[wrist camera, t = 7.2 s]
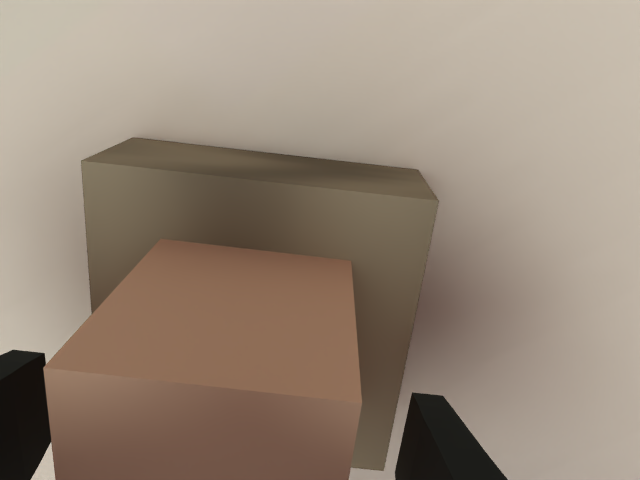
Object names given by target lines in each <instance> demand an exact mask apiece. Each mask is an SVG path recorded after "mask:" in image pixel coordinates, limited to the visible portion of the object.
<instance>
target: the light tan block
mask: <svg viewBox="0 0 640 480" xmlns="http://www.w3.org/2000/svg"><path fill="white" fill-rule="evenodd" d="M43 370H44V379H45V388H46V397H47V406H48V415H49V424H50V433H51V443H52V452H53V461H54V470H55V479H56V480H348V479H349V474H350V468H351V463H352V457H353V451H354V446H355V440H356V435H357V429H358V423H359V418H360V412H361V407H362V395H361V382H360V369H359V356H358V343H357V330H356V317H355V304H354V290H353V277H352V264H351V261H349V260H341V259H332V258H323V257H315V256H306V255H297V254H289V253H280V252H271V251H262V250H254V249H245V248H236V247H228V246H219V245H210V244H202V243H193V242H184V241H176V240H167V239H160V240H159V241H158V242H157V243H156V244H155V245H154V247H153V248H152V249H151V250H150V251H149V252H148V253H147V254H146V255H145V256H144V258H143V259H142V260H141V261H140V262H139V263H138V264H137V265H136V266H135V267H134V269H133V270H132V271H131V272H130V273H129V274H128V275H127V276H126V277H125V278H124V280H123V281H122V282H121V283H120V284H119V285H118V286H117V287H116V288H115V289H114V291H113V292H112V293H111V294H110V295H109V296H108V297H107V298H106V299H105V300H104V301H103V303H102V304H101V305H100V306H99V307H98V308H97V309H96V310H95V311H94V312H93V314H92V315H91V316H90V317H89V318H88V319H87V320H86V321H85V322H84V323H83V325H82V326H81V327H80V328H79V329H78V330H77V331H76V332H75V333H74V334H73V336H72V337H71V338H70V339H69V340H68V341H67V342H66V343H65V344H64V345H63V347H62V348H61V349H60V350H59V351H58V352H57V353H56V354H55V355H54V356H53V358H52V359H51V360H50V361H49V362H48V363H47V364H46V365H45V366H44V367H43Z"/></svg>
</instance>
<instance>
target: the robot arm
mask: <svg viewBox="0 0 640 480" xmlns="http://www.w3.org/2000/svg"><path fill="white" fill-rule="evenodd" d="M45 365H46V362H45V353H38V352H29V351H19V350H12V351H9V352H7V353H5V354H2V355H0V480H31V478H32V476H33V475H34V473H35V471H36V469H37V467H38V466H39V464H40V462H41V460H42V458H43V456H44V454H45V452H46V450H47V448H48V446H49V444H50V442H51V433H50V424H49V415H48V406H47V397H46V388H45V379H44V370H43V367H44V366H45ZM395 478H396V480H508V479H507V478H506V477H505V476H504V474H503V473H502V472H501V471H500V470H499V468H498V467H497V466H496V465H495V463H494V462H493V461H492V460H491V458H490V457H489V456H488V454H487V453H486V452H485V451H484V449H483V448H482V447H481V445H480V444H479V443H478V441H477V440H476V439H475V437H474V436H473V435H472V434H471V432H470V431H469V430H468V428H467V427H466V426H465V424H464V423H463V422H462V420H461V419H460V417H459V416H458V415H457V413H456V412H455V411H454V410H453V408H452V407H451V406H450V404H449V403H448V402H447V400H446V399H445V398H444V396H440V395H430V394H421V393H412V396H411V400H410V405H409V410H408V414H407V419H406V424H405V428H404V433H403V437H402V442H401V447H400V451H399V456H398V461H397V465H396V470H395Z"/></svg>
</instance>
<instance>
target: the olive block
mask: <svg viewBox="0 0 640 480" xmlns="http://www.w3.org/2000/svg"><path fill="white" fill-rule="evenodd" d="M81 167H82V181H83V195H84V210H85V224H86V238H87V253H88V267H89V281H90V295H91V310H92V314H93V312H94V311H95V310H96V309H97V308H98V307H99V306H100V305H101V304H102V303H103V301H104V300H105V299H106V298H107V297H108V296H109V295H110V294H111V293H112V292H113V291H114V289H115V288H116V287H117V286H118V285H119V284H120V283H121V282H122V281H123V280H124V278H125V277H126V276H127V275H128V274H129V273H130V272H131V271H132V270H133V269H134V267H135V266H136V265H137V264H138V263H139V262H140V261H141V260H142V259H143V258H144V256H145V255H146V254H147V253H148V252H149V251H150V250H151V249H152V248H153V247H154V245H155V244H156V243H157V242H158V241H159V240H160V239H167V240H176V241H184V242H193V243H202V244H210V245H219V246H228V247H236V248H245V249H254V250H262V251H271V252H280V253H289V254H297V255H306V256H315V257H323V258H332V259H341V260H349V261H351V264H352V277H353V290H354V304H355V317H356V330H357V343H358V356H359V369H360V382H361V395H362V407H361V412H360V418H359V423H358V429H357V435H356V440H355V446H354V451H353V457H352V463H351V468H361V469H370V470H380V471H384V467H385V462H386V457H387V452H388V447H389V442H390V437H391V432H392V427H393V423H394V418H395V413H396V408H397V403H398V398H399V393H400V388H401V383H402V379H403V374H404V369H405V364H406V359H407V354H408V349H409V344H410V339H411V335H412V330H413V325H414V320H415V315H416V310H417V305H418V300H419V295H420V290H421V286H422V281H423V276H424V271H425V266H426V261H427V256H428V251H429V246H430V242H431V237H432V232H433V227H434V222H435V217H436V212H437V207H438V202H439V200H438V199H437V198H436V196H435V195H434V193H433V192H432V190H431V189H430V187H429V186H428V184H427V183H426V181H425V180H424V178H423V177H422V175H421V174H420V172H419V171H418V170H414V169H405V168H397V167H388V166H379V165H370V164H361V163H352V162H344V161H335V160H326V159H317V158H308V157H299V156H290V155H282V154H273V153H264V152H255V151H246V150H237V149H228V148H220V147H211V146H202V145H193V144H184V143H175V142H167V141H158V140H149V139H140V138H131V139H129V140H126V141H124V142H122V143H120V144H117V145H115V146H113V147H111V148H108V149H106V150H104V151H102V152H100V153H97V154H95V155H93V156H91V157H88V158H86V159H84V160H82V161H81Z"/></svg>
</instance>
